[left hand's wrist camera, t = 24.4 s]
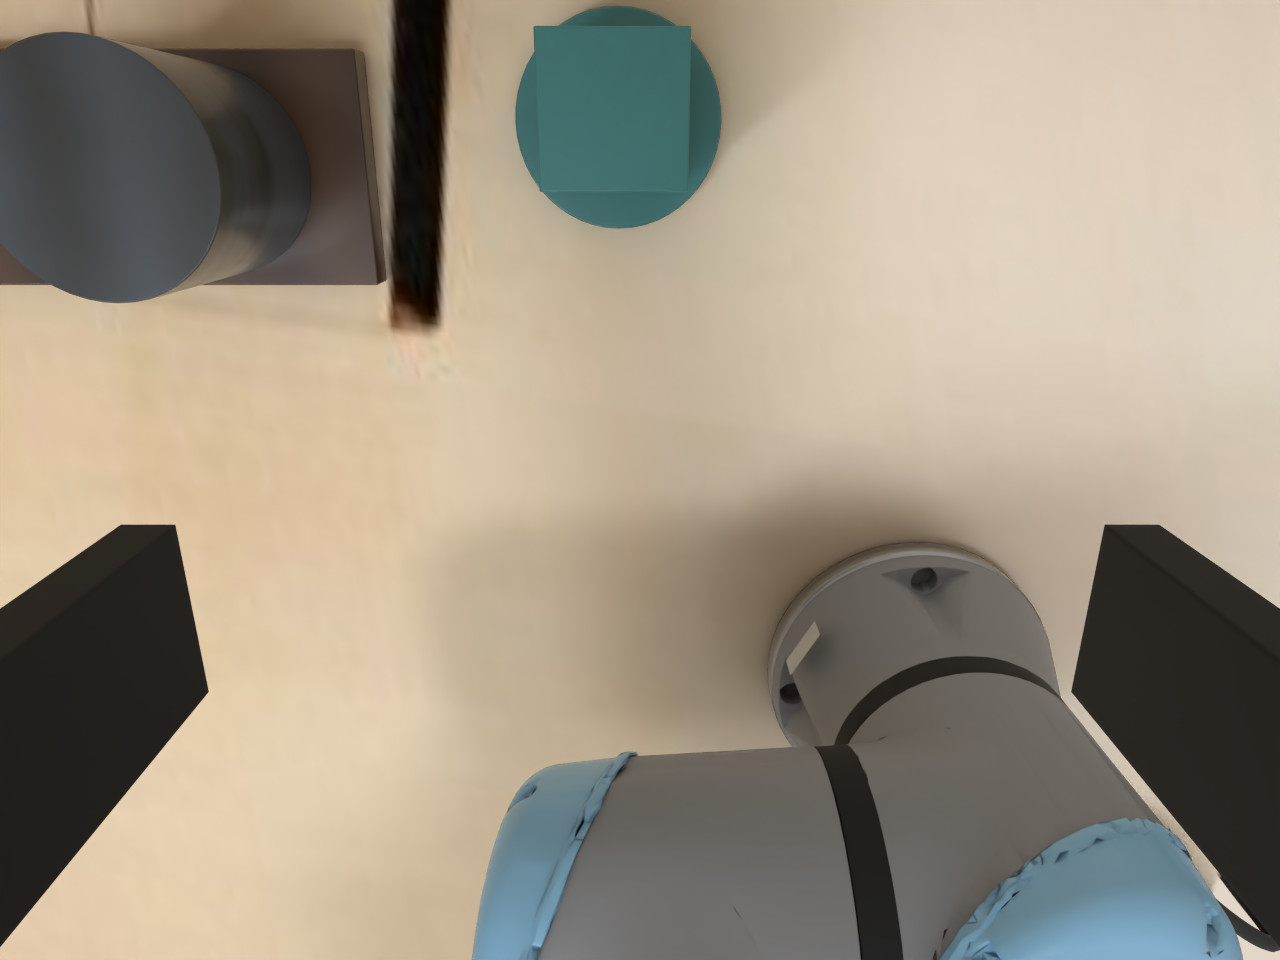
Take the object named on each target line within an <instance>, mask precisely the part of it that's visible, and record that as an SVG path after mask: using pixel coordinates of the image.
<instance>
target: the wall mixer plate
mask: <svg viewBox="0 0 1280 960" xmlns="http://www.w3.org/2000/svg"><path fill="white" fill-rule="evenodd" d="M384 281H386V272H385V262H384V252H383V242H382V232H381V222H380V211H379V201H378V191H377V181H376V171H375V161H374V151H373V141H372V131H371V121H370V110H369V100H368V90H367V80H366V70H365V60H364V54H363V53H362V52H359V51H357V50H354V49H149V48H145V47H141V46H136V45H132V44H128V43H124V42H119V41H115V40H111V39H107V38H102V37H98V36H93V35H89V34H84V33H75V32H53V33H44V34H40V35H36V36H31V37H28V38H26V39H23V40H21V41H19V42H16V43H14V44H12V45H11V46H9V47H8V48H6V49H0V285H53V286H54V287H57V288H59V289H61V290H63V291H66V292H68V293H70V294H73V295H76V296H79V297H82V298H85V299H90V300H95V301H100V302H109V303H129V302H138V301H143V300H148V299H152V298H155V297H159V296H163V295H166V294H170V293H173V292H177V291H181V290H184V289H188V288H191V287H195V286H199V285H378V284H380V283H382V282H384Z"/></svg>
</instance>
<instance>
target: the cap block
mask: <svg viewBox="0 0 1280 960" xmlns="http://www.w3.org/2000/svg"><path fill="white" fill-rule="evenodd" d="M534 50H535V52H534V53H533V55H532V57H531V59H530V61H529V62H528V64H527V66H526V69H525V71H524V74H523V76H522V79H521V82H520V86H519V90H518V95H517V102H516V130H517V138H518V142H519V146H520V151H521V153H522V156H523V159H524V162H525V164H526V166H527V168H528V170H529V172H530V174H531V176H532V177H533V179H534V180H535V182H536V183H537V185H538V186H539V188H540V191H541V192H544V194H545V195H546V196H547V197H548V198H549V199H550V200H551V201H552V202H553V203H554V204H556V205H557V206H558V207H559V208H561V209H562V210H563V211H565V212H566V213H568V214H569V215H571V216H573V217H575V218H577V219H579V220H581V221H584V222H587V223H590V224H592V225H596V226H601V227H606V228H632V227H637V226H642V225H646V224H649V223H652V222H654V221H657V220H659V219H661V218H663V217H665V216H667V215H669V214H670V213H672V212H673V211H675V210H676V209H678V208H679V207H680V206H681V205H682V204H684V203H685V202H686V201H687V200H688V199H689V198H690V197H691V196H692V195H693V193H694V192H695V191H696V190H697V189H698V188H699V186H700V184H701V183H702V181H703V180H704V178H705V177H706V175H707V173H708V171H709V169H710V167H711V165H712V163H713V160H714V157H715V154H716V151H717V147H718V142H719V138H720V129H721V106H720V99H719V93H718V89H717V86H716V82H715V79H714V76H713V74H712V71H711V69H710V67H709V64H708V63H707V61H706V59H705V58H704V56H703V54H702V52H701V51H700V50H699V48H698V47H697V46H696V45H695V43H694V42H693V41H692V40H691V27H690V26H676V25H674V24H673V23H672V22H670V21H668V20H667V19H665V18H663V17H661V16H659V15H657V14H655V13H652V12H649V11H647V10H644V9H639V8H635V7H628V6H607V7H600V8H596V9H591V10H588V11H586V12H583V13H580V14H578V15H576V16H574V17H572V18H570V19H568V20H567V21H565V22H563V23H562V24H561V25H560V26H534Z"/></svg>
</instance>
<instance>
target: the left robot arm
mask: <svg viewBox="0 0 1280 960" xmlns="http://www.w3.org/2000/svg"><path fill="white" fill-rule="evenodd" d="M768 684H769V690H770V695H771V699H772V703H773V707H774V710H775V714H776V718H777V720H778V722H779V725H780V727H781V729H782V731H783V733H784V735H785V737H786V738H787V740H788V741H789V743H790V744H791V746H792V747H790V748H772V749H755V750H738V751H720V752H703V753H686V754H669V755H651V756H638V754H637V752H624V753H621V754H620V755H618V756H617V757H616V758H610V759H601V760H592V761H583V762H575V763H566V764H557V765H553V766H549V767H547V768H544V769H542V770H540V771H539V772H537V773H535V774H534V775H533V776H532V777H530V778H529V779H528V780H527V781H526V782H525V783H524V784H523V785H522V787H521V788H520V789H519V790H518V792H517V793H516V795H515V797H514V798H513V800H512V802H511V804H510V806H509V808H508V811H507V813H506V815H505V817H504V819H503V821H502V824H501V827H500V829H499V832H498V835H497V838H496V841H495V845H494V848H493V851H492V854H491V858H490V862H489V866H488V870H487V874H486V879H485V883H484V888H483V892H482V897H481V902H480V908H479V914H478V920H477V926H476V932H475V939H474V947H473V955H472V960H1243V956H1242V952H1241V948H1240V944H1239V941H1238V938H1237V935H1239V936H1240V937H1242V938H1243V939H1245V940H1247V941H1248V942H1250V943H1251V944H1253V945H1255V946H1257V947H1259V948H1262V949H1264V950H1267V951H1271V952H1275V951H1279V950H1280V609H1279V608H1278V607H1276V606H1275V605H1274V604H1272V603H1271V602H1269V601H1268V600H1266V599H1265V598H1263V597H1262V596H1261V595H1259V594H1258V593H1256V592H1255V591H1253V590H1252V589H1251V588H1249V587H1248V586H1246V585H1245V584H1243V583H1242V582H1240V581H1239V580H1238V579H1236V578H1235V577H1233V576H1232V575H1230V574H1229V573H1228V572H1226V571H1225V570H1223V569H1222V568H1220V567H1219V566H1218V565H1216V564H1215V563H1213V562H1212V561H1210V560H1209V559H1207V558H1206V557H1205V556H1203V555H1202V554H1200V553H1199V552H1197V551H1196V550H1195V549H1193V548H1192V547H1190V546H1189V545H1187V544H1186V543H1184V542H1183V541H1182V540H1180V539H1179V538H1177V537H1176V536H1174V535H1173V534H1172V533H1170V532H1169V531H1167V530H1166V529H1164V528H1163V527H1161V526H1160V525H1105V526H1104V531H1103V536H1102V541H1101V546H1100V551H1099V556H1098V561H1097V566H1096V571H1095V576H1094V581H1093V586H1092V591H1091V596H1090V601H1089V606H1088V611H1087V616H1086V621H1085V626H1084V631H1083V636H1082V641H1081V646H1080V651H1079V656H1078V661H1077V666H1076V671H1075V676H1074V681H1073V686H1072V691H1071V692H1072V693H1073V694H1074V696H1075V697H1076V698H1077V699H1078V701H1079V702H1080V703H1081V704H1082V705H1083V707H1084V708H1085V709H1086V710H1087V712H1088V713H1089V714H1090V715H1091V716H1092V718H1093V719H1094V720H1095V721H1096V723H1097V724H1098V725H1099V726H1100V727H1101V729H1102V730H1103V731H1104V732H1105V734H1106V735H1107V736H1108V737H1109V739H1110V740H1111V741H1112V742H1113V743H1114V745H1115V746H1116V747H1117V748H1118V750H1119V751H1120V752H1121V753H1122V754H1123V756H1124V757H1125V758H1126V759H1127V761H1128V762H1129V763H1130V764H1131V765H1132V767H1133V768H1134V769H1135V770H1136V772H1137V773H1138V774H1139V775H1140V776H1141V778H1142V779H1143V780H1144V781H1145V783H1146V784H1147V785H1148V786H1149V787H1150V789H1151V790H1152V791H1153V792H1154V794H1155V795H1156V796H1157V797H1158V799H1159V800H1160V801H1161V802H1162V803H1163V805H1164V806H1165V807H1166V808H1167V810H1168V811H1169V812H1170V813H1171V814H1172V816H1173V817H1174V818H1175V819H1176V821H1177V822H1178V823H1179V824H1180V825H1181V827H1182V828H1183V829H1184V830H1185V832H1186V833H1187V834H1188V835H1189V836H1190V838H1191V839H1192V840H1193V841H1194V843H1195V844H1196V845H1197V846H1198V847H1199V849H1200V850H1201V851H1202V852H1203V854H1204V855H1205V856H1206V857H1207V858H1208V860H1209V861H1210V862H1211V863H1212V865H1213V866H1214V867H1215V868H1216V870H1217V871H1218V872H1219V874H1218V877H1219V878H1220V879H1221V881H1222V882H1223V883H1224V885H1225V886H1226V887H1227V889H1228V890H1229V891H1230V893H1231V894H1232V895H1233V897H1234V898H1235V899H1236V901H1237V902H1238V903H1239V904H1240V906H1241V907H1242V908H1243V909H1244V911H1245V912H1246V913H1247V914H1248V916H1249V917H1250V918H1251V919H1252V921H1253V922H1254V923H1255V925H1256V926H1257V927H1258V929H1259V930H1260V931H1259V930H1258V929H1256V928H1254V927H1253V926H1251V925H1250V924H1248V923H1247V922H1245V921H1244V920H1242V919H1241V918H1239V917H1238V916H1237V915H1235V914H1234V913H1233V912H1231V911H1230V910H1229V909H1227V908H1226V907H1225V906H1224V905H1223V904H1221V903H1220V902H1219V901H1218V900H1217V899H1216V898H1215V897H1214V895H1213V893H1212V892H1211V890H1210V889H1209V887H1208V886H1207V884H1206V883H1205V881H1204V880H1203V878H1202V877H1201V875H1200V874H1199V872H1198V871H1197V869H1196V868H1195V866H1194V865H1193V863H1192V862H1191V861H1192V859H1191V856H1190V854H1189V853H1188V851H1187V849H1186V847H1185V845H1184V844H1183V843H1182V842H1181V841H1180V839H1179V838H1178V837H1177V836H1175V835H1174V834H1173V833H1172V832H1171V831H1170V829H1168V828H1165V827H1164V825H1163V824H1162V823H1161V822H1160V821H1159V819H1158V818H1157V817H1156V816H1155V814H1154V813H1153V812H1152V811H1151V809H1150V808H1149V807H1148V806H1147V805H1146V803H1145V802H1144V801H1143V800H1142V798H1141V797H1140V796H1139V795H1138V793H1137V792H1136V791H1135V790H1134V788H1133V787H1132V786H1131V785H1130V784H1129V782H1128V781H1127V780H1126V779H1125V777H1124V776H1123V775H1122V774H1121V772H1120V771H1119V770H1118V769H1117V768H1116V766H1115V765H1114V764H1113V763H1112V761H1111V760H1110V759H1109V758H1108V756H1107V755H1106V754H1105V753H1104V751H1103V750H1102V749H1101V748H1100V746H1099V745H1098V744H1097V743H1096V741H1095V740H1094V739H1093V738H1092V736H1091V735H1090V734H1089V733H1088V731H1087V730H1086V729H1085V728H1084V726H1083V725H1082V724H1081V723H1080V721H1079V720H1078V719H1077V718H1076V716H1075V715H1074V714H1073V713H1072V711H1071V710H1070V709H1069V708H1068V707H1067V705H1066V704H1065V703H1064V701H1063V700H1062V699H1061V696H1060V691H1059V687H1058V682H1057V677H1056V672H1055V668H1054V663H1053V658H1052V654H1051V649H1050V644H1049V641H1048V637H1047V634H1046V632H1045V630H1044V627H1043V625H1042V622H1041V620H1040V618H1039V616H1038V614H1037V612H1036V610H1035V609H1034V607H1033V606H1032V604H1031V603H1030V602H1029V600H1028V599H1027V598H1026V596H1025V595H1024V594H1023V593H1022V592H1021V591H1020V590H1019V589H1018V587H1017V586H1016V585H1015V584H1014V583H1013V582H1012V581H1011V580H1010V579H1009V578H1008V576H1006V575H1005V574H1004V573H1003V572H1002V571H1001V570H999V569H998V568H997V567H995V566H994V565H992V564H991V563H990V562H988V561H986V560H984V559H983V558H981V557H979V556H977V555H975V554H972V553H970V552H967V551H965V550H962V549H958V548H955V547H951V546H946V545H941V544H934V543H916V542H911V543H898V544H892V545H886V546H881V547H877V548H873V549H870V550H867V551H864V552H861V553H858V554H856V555H853V556H851V557H849V558H847V559H844V560H843V561H841V562H839V563H837V564H835V565H834V566H832V567H830V568H829V569H827V570H826V571H824V572H823V573H822V574H820V575H819V576H818V577H816V578H815V579H814V580H813V581H812V582H810V583H809V584H808V585H807V586H806V587H805V588H804V589H803V590H802V591H801V592H800V593H799V594H798V596H797V597H796V598H795V599H794V600H793V602H792V603H791V604H790V606H789V607H788V609H787V610H786V612H785V613H784V615H783V617H782V619H781V620H780V622H779V624H778V627H777V629H776V631H775V634H774V637H773V640H772V643H771V647H770V652H769V657H768ZM208 692H209V691H208V686H207V681H206V676H205V671H204V666H203V661H202V656H201V651H200V646H199V641H198V636H197V631H196V626H195V621H194V616H193V611H192V606H191V601H190V596H189V591H188V586H187V581H186V576H185V571H184V566H183V561H182V556H181V551H180V546H179V541H178V536H177V531H176V526H175V525H120V526H119V527H117V528H116V529H114V530H113V531H111V532H110V533H108V534H107V535H106V536H104V537H103V538H101V539H100V540H98V541H97V542H96V543H94V544H93V545H91V546H90V547H88V548H87V549H85V550H84V551H83V552H81V553H80V554H78V555H77V556H75V557H74V558H73V559H71V560H70V561H68V562H67V563H65V564H64V565H62V566H61V567H60V568H58V569H57V570H55V571H54V572H52V573H51V574H50V575H48V576H47V577H45V578H44V579H42V580H41V581H40V582H38V583H37V584H35V585H34V586H32V587H31V588H29V589H28V590H27V591H25V592H24V593H22V594H21V595H19V596H18V597H17V598H15V599H14V600H12V601H11V602H9V603H8V604H6V605H5V606H4V607H2V608H1V609H0V947H1V945H2V944H3V943H4V942H5V941H6V939H7V938H8V937H9V936H10V934H11V933H12V932H13V931H14V930H15V928H16V927H17V926H18V925H19V923H20V922H21V921H22V920H23V918H24V917H25V916H26V915H27V914H28V912H29V911H30V910H31V909H32V907H33V906H34V905H35V904H36V903H37V901H38V900H39V899H40V898H41V896H42V895H43V894H44V893H45V892H46V890H47V889H48V888H49V887H50V885H51V884H52V883H53V882H54V881H55V879H56V878H57V877H58V876H59V874H60V873H61V872H62V871H63V870H64V868H65V867H66V866H67V865H68V863H69V862H70V861H71V860H72V858H73V857H74V856H75V855H76V854H77V852H78V851H79V850H80V849H81V847H82V846H83V845H84V844H85V843H86V841H87V840H88V839H89V838H90V836H91V835H92V834H93V833H94V832H95V830H96V829H97V828H98V827H99V825H100V824H101V823H102V822H103V821H104V819H105V818H106V817H107V816H108V814H109V813H110V812H111V811H112V810H113V808H114V807H115V806H116V805H117V803H118V802H119V801H120V800H121V799H122V797H123V796H124V795H125V794H126V792H127V791H128V790H129V789H130V787H131V786H132V785H133V784H134V783H135V781H136V780H137V779H138V778H139V776H140V775H141V774H142V773H143V772H144V770H145V769H146V768H147V767H148V765H149V764H150V763H151V762H152V761H153V759H154V758H155V757H156V756H157V754H158V753H159V752H160V751H161V750H162V748H163V747H164V746H165V745H166V743H167V742H168V741H169V740H170V739H171V737H172V736H173V735H174V734H175V732H176V731H177V730H178V729H179V727H180V726H181V725H182V724H183V723H184V721H185V720H186V719H187V718H188V716H189V715H190V714H191V713H192V712H193V710H194V709H195V708H196V707H197V705H198V704H199V703H200V702H201V701H202V699H203V698H204V697H205V696H206V694H207V693H208ZM1236 934H1237V935H1236Z"/></svg>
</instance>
